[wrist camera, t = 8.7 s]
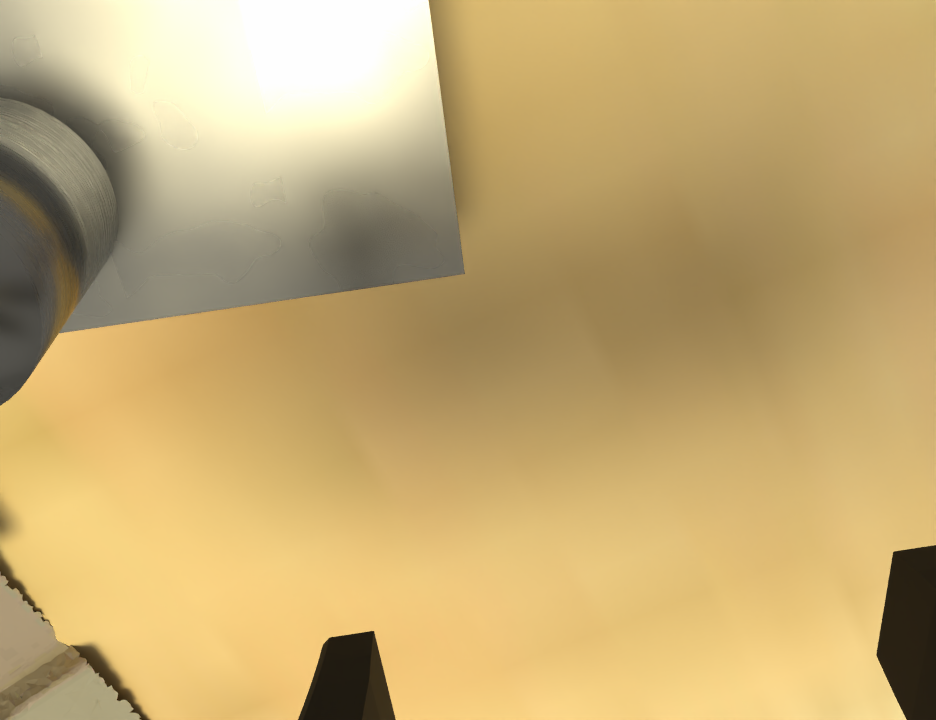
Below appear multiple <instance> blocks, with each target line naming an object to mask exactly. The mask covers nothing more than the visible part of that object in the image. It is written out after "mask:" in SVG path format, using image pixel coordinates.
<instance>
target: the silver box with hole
mask: <svg viewBox="0 0 936 720" xmlns="http://www.w3.org/2000/svg"><path fill="white" fill-rule="evenodd" d="M460 274H465V272H464V264H463V257H462V249H461V242H460V234H459V227H458V219H457V212H456V204H455V197H454V189H453V181H452V174H451V166H450V159H449V151H448V144H447V136H446V129H445V121H444V114H443V106H442V99H441V91H440V84H439V76H438V69H437V61H436V54H435V46H434V39H433V31H432V23H431V16H430V8H429V1H428V0H0V405H2V404H3V403H5V402H6V401H8V400H9V399H10V398H11V397H12V396H13V395H14V394H16V393H17V392H18V391H19V390H20V389H21V387H22V386H23V385H24V383H25V382H26V381H27V379H28V378H29V377H30V375H31V374H32V372H33V371H34V369H35V368H36V366H37V365H38V363H39V362H40V360H41V359H42V357H43V356H44V354H45V353H46V351H47V350H48V348H49V347H50V345H51V344H52V342H53V341H54V339H55V338H56V336H57V335H58V333H64V332H70V331H77V330H84V329H91V328H98V327H105V326H111V325H118V324H125V323H132V322H139V321H146V320H153V319H159V318H166V317H173V316H180V315H187V314H194V313H200V312H207V311H214V310H221V309H228V308H235V307H241V306H248V305H255V304H262V303H269V302H276V301H282V300H289V299H296V298H303V297H310V296H317V295H324V294H330V293H337V292H344V291H351V290H358V289H365V288H371V287H378V286H385V285H392V284H399V283H406V282H412V281H419V280H426V279H433V278H440V277H447V276H453V275H460Z"/></svg>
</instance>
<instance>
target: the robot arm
mask: <svg viewBox="0 0 936 720" xmlns="http://www.w3.org/2000/svg"><path fill="white" fill-rule="evenodd" d="M877 657H878V660H879V662H880V664H881V666H882V668H883V671H884V673H885V675H886V677H887V679H888V682H889V684H890V686H891V688H892V690H893V693H894V695H895V697H896V699H897V701H898V703H899V705H900V707H901V709H902V711H903V713H904V715H905V717H906V719H907V720H936V545H934V546H928V547H921V548H915V549H908V550H901V551H895V552H893V557H892V563H891V569H890V575H889V581H888V588H887V594H886V600H885V606H884V612H883V618H882V624H881V630H880V636H879V642H878V648H877ZM298 720H395V715H394V711H393V707H392V703H391V699H390V695H389V691H388V687H387V683H386V679H385V675H384V670H383V666H382V662H381V658H380V654H379V650H378V646H377V642H376V638H375V634H374V631H370V632H364V633H357V634H351V635H344V636H337V637H331V638H329V639H328V640H327V641H326V642H325V643H324V644H323V647H322V650H321V654H320V658H319V661H318V664H317V668H316V671H315V674H314V677H313V680H312V683H311V686H310V689H309V692H308V695H307V697H306V700H305V703H304V706H303V708H302V711H301V714H300V716H299V719H298Z"/></svg>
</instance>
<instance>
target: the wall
mask: <svg viewBox="0 0 936 720" xmlns="http://www.w3.org/2000/svg"><path fill="white" fill-rule="evenodd" d="M0 575H1V572H0ZM8 582H9V581H7V580H6V577H5V576H0V720H141V719H139V718H140V717H141V716H139V714H137V713H130V712H131V711H132V710H133V708H132V707H131V704H130V703H128V701H127V700H121V701H118V700H117V697H118V693H117V692H116V691H115V690H114V689H113V688H112V685H111V686H109V687H107V684H105V681H104V679H103V678H102V677H99V673H96V674H95V672H94V670H93V668H92V667H91V666H90V665H89V663H88V664H87V660H86V658H81V657H79V655H80V653H79V652H77V651H76V649H75V648H73V646H72V645H71V646H70V647H68V646H66V645H65V644H64V643H61V642H59V641H57V639H56V636H55V632H54V629H53V626H51V625H50V624H49V621H44V622H43V620H42V619H41V618H40V617H43V615H42V614H41V612H33V609H32V608H33V606H30V605H28V602H27V601H23V599H22V596H23V594H20V592H19V590H18V589H16V588H15V589H13V590H12V589H11V588H9V586H8V585H7V586H5V585H6V584H7V583H8ZM86 664H87V665H86Z"/></svg>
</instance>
